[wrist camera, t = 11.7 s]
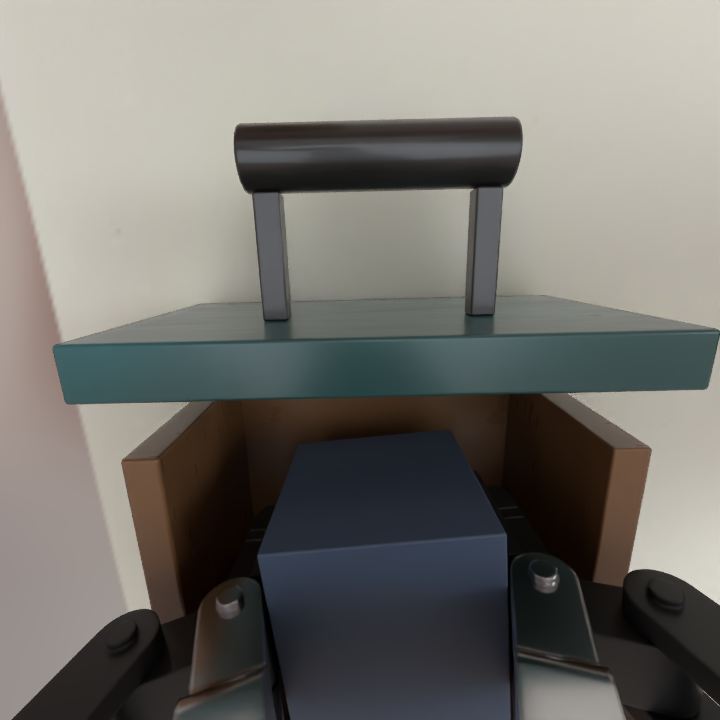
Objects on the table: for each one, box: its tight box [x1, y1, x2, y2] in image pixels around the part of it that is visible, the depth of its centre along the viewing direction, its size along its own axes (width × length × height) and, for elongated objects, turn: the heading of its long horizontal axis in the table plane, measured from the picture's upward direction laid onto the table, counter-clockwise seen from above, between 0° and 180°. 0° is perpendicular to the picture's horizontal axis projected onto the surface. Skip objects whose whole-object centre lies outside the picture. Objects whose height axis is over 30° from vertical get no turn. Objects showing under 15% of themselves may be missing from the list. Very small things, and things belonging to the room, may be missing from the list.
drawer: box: [53, 117, 720, 689], centre depth 11 cm, size 15×12×7 cm
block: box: [257, 429, 511, 720], centre depth 10 cm, size 5×5×5 cm
